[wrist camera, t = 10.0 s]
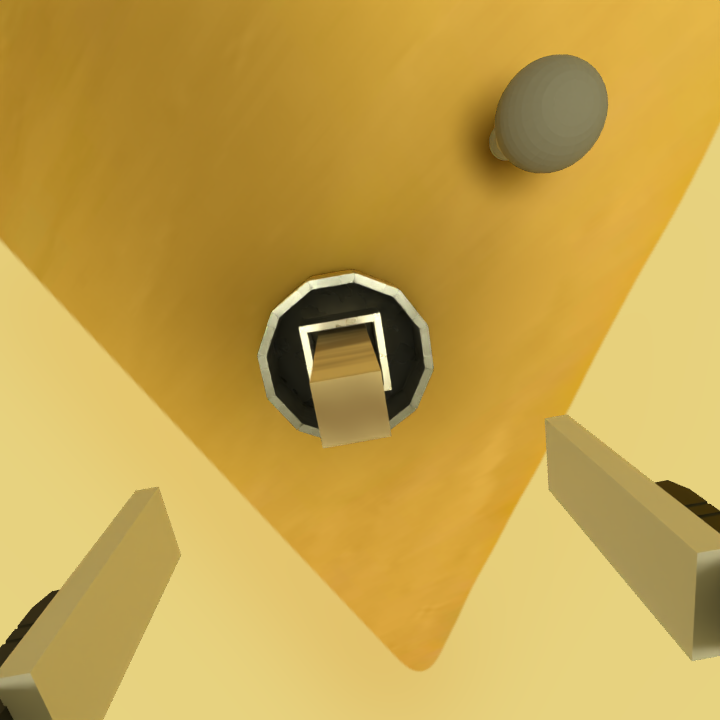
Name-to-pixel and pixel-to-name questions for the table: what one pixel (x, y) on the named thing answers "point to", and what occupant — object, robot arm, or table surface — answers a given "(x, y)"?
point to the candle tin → (335, 310)
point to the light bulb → (550, 114)
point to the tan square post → (348, 388)
